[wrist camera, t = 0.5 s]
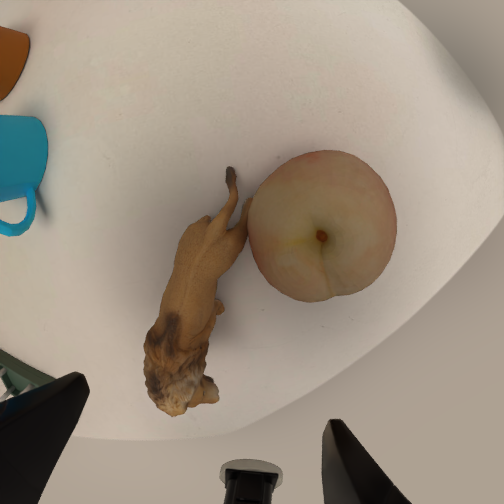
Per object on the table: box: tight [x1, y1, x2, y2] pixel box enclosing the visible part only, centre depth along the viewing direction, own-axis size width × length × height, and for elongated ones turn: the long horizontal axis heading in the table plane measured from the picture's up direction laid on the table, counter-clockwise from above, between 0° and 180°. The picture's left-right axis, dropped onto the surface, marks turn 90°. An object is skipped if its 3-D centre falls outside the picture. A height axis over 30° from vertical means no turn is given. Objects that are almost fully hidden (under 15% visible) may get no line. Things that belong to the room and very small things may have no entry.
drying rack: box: [0, 350, 56, 402], centre depth 26 cm, size 8×15×6 cm, turn 86°
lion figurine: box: [143, 166, 253, 417], centre depth 16 cm, size 15×5×9 cm, turn 169°
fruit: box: [247, 150, 397, 302], centre depth 15 cm, size 8×8×8 cm
